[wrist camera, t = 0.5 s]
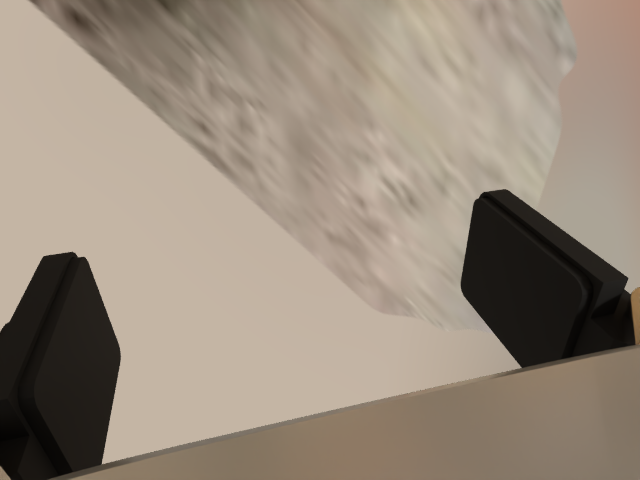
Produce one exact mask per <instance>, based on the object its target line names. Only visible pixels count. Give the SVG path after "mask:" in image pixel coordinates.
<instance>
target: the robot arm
mask: <svg viewBox="0 0 640 480" xmlns="http://www.w3.org/2000/svg"><path fill="white" fill-rule="evenodd" d="M627 281H628V277H626V276H625V275H624V274H622V273H621V272H619V271H618V270H617V269H615V268H614V267H613V266H611V265H610V264H608V263H607V262H606V261H604V260H603V259H602V258H600V257H599V256H598V255H596V254H595V253H593V252H592V251H591V250H589V249H588V248H587V247H585V246H584V245H582V244H581V243H580V242H578V241H577V240H576V239H574V238H573V237H571V236H570V235H569V234H567V233H566V232H565V231H563V230H562V229H560V228H559V227H558V226H556V225H555V224H554V223H552V222H551V221H549V220H548V219H547V218H545V217H544V216H543V215H541V214H540V213H538V212H537V211H536V210H534V209H533V208H532V207H530V206H529V205H527V204H526V203H525V202H523V201H522V200H521V199H519V198H518V197H517V196H515V195H514V194H512V193H511V192H510V191H508V190H506V189H503V190H496V191H489V192H483V193H482V194H481V195H480V197H479V199H476V200H475V202H474V205H473V211H472V217H471V223H470V229H469V235H468V241H467V248H466V254H465V260H464V266H463V272H462V278H461V290H462V293H463V295H464V297H465V298H466V299H467V300H468V302H469V303H470V304H471V305H472V307H473V308H474V309H475V310H476V312H477V313H478V314H479V315H480V317H481V318H482V319H483V320H484V321H485V323H486V324H487V325H488V326H489V328H490V329H491V330H492V331H493V333H494V334H495V335H496V336H497V338H498V339H499V340H500V341H501V342H502V344H503V345H504V346H505V347H506V349H507V350H508V351H509V352H510V354H511V355H512V356H513V357H514V358H515V360H516V361H517V362H518V363H519V365H520V366H521V367H522V368H520V369H515V370H511V371H506V372H502V373H497V374H493V375H489V376H483V377H479V378H475V379H470V380H465V381H461V382H457V383H451V384H447V385H443V386H438V387H434V388H429V389H425V390H420V391H416V392H411V393H407V394H403V395H398V396H393V397H389V398H384V399H380V400H375V401H371V402H367V403H362V404H358V405H353V406H349V407H345V408H340V409H336V410H331V411H327V412H323V413H318V414H313V415H309V416H305V417H301V418H297V419H292V420H287V421H284V422H279V423H275V424H270V425H266V426H261V427H257V428H253V429H249V430H244V431H240V432H235V433H231V434H227V435H222V436H218V437H214V438H209V439H205V440H201V441H196V442H192V443H188V444H183V445H179V446H175V447H171V448H167V449H163V450H159V451H154V452H150V453H146V454H142V455H138V456H134V457H130V458H126V459H122V460H118V461H114V462H110V463H106V464H102V459H103V454H104V448H105V442H106V437H107V432H108V426H109V421H110V415H111V410H112V404H113V399H114V394H115V388H116V383H117V377H118V372H119V366H120V360H121V355H120V347H119V344H118V341H117V338H116V336H115V333H114V330H113V328H112V325H111V322H110V320H109V317H108V314H107V311H106V309H105V306H104V303H103V301H102V298H101V295H100V293H99V290H98V287H97V285H96V282H95V279H94V277H93V274H92V271H91V268H90V266H89V263H88V261H87V259H86V258H85V257H79V258H78V257H77V255H76V254H75V253H73V252H68V253H62V254H55V255H48V256H44V257H43V258H42V260H41V261H40V264H39V265H38V267H37V269H36V271H35V273H34V275H33V277H32V280H31V281H30V283H29V285H28V287H27V289H26V291H25V293H24V295H23V297H22V299H21V301H20V303H19V305H18V306H17V308H16V310H15V312H14V314H13V316H12V318H11V320H10V322H9V323H7V324H5V326H4V327H3V328H2V330H1V332H0V480H640V287H638V288H636V289H635V290H634V291H633V292H632V293H631V294H629V293H628V292H627V291H626V290H624V288H625V286H626V283H627ZM101 464H102V465H101Z"/></svg>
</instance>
